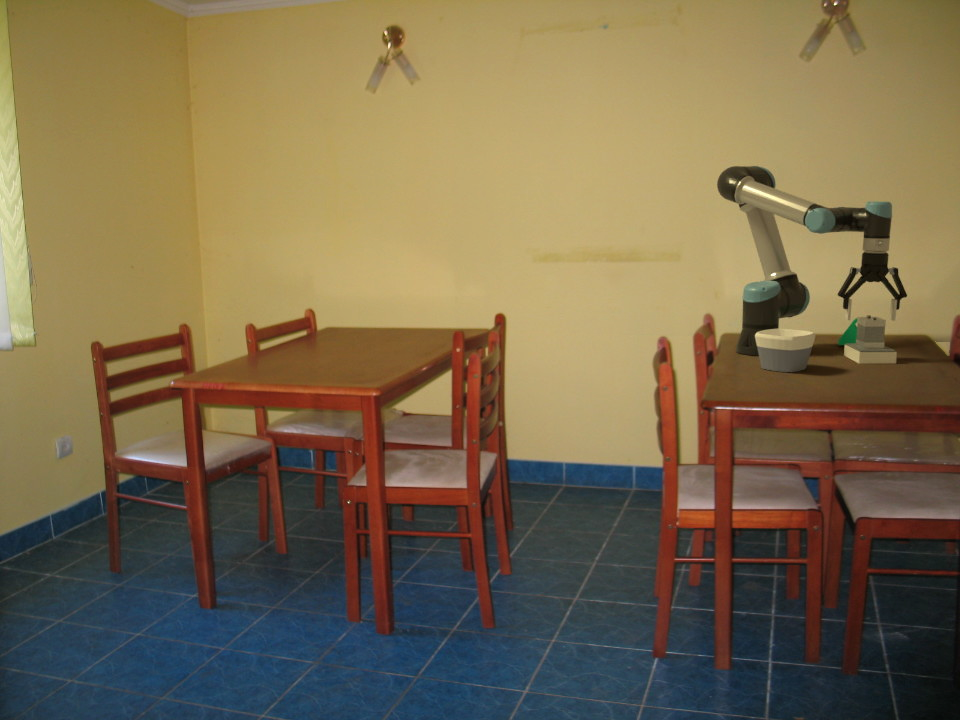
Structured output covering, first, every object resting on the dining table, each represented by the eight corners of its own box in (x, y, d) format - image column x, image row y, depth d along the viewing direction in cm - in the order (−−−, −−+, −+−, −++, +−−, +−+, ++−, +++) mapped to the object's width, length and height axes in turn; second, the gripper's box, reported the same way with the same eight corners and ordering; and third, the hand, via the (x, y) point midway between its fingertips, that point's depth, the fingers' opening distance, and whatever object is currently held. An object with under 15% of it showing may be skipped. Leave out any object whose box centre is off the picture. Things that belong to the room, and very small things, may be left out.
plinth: (859, 363, 276) (859, 350, 276) (844, 355, 291) (844, 343, 290) (896, 363, 275) (896, 350, 274) (879, 355, 290) (879, 343, 289)
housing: (864, 348, 279) (865, 318, 277) (855, 344, 287) (857, 315, 285) (884, 348, 278) (885, 318, 277) (875, 344, 286) (877, 314, 284)
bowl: (746, 369, 271) (748, 332, 269) (775, 362, 281) (776, 327, 279) (792, 375, 260) (794, 337, 258) (820, 368, 269) (822, 332, 268)
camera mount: (877, 346, 308) (879, 316, 306) (876, 349, 301) (878, 319, 300) (839, 344, 313) (841, 315, 312) (838, 348, 307) (839, 318, 305)
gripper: (837, 252, 275) (832, 321, 279) (922, 252, 272) (915, 321, 276) (830, 250, 282) (825, 317, 286) (912, 251, 280) (906, 318, 284)
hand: (870, 319), depth 281 cm, fingers open, 13 cm apart
